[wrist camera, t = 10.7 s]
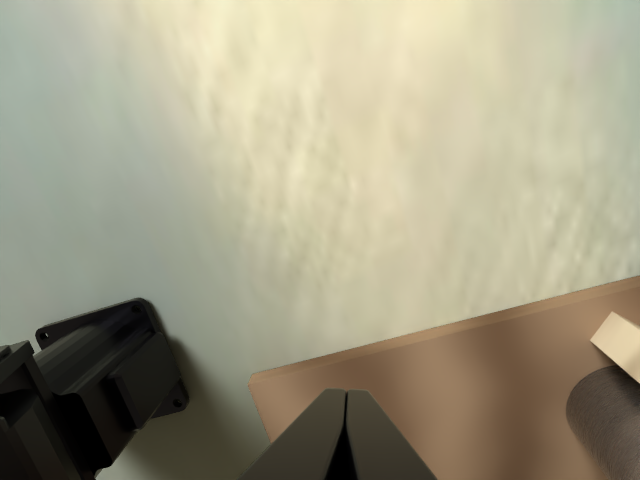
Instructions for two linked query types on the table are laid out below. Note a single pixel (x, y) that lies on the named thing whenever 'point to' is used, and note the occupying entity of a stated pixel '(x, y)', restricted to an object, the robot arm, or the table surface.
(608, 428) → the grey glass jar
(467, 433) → the board
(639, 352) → the v block
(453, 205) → the table surface
